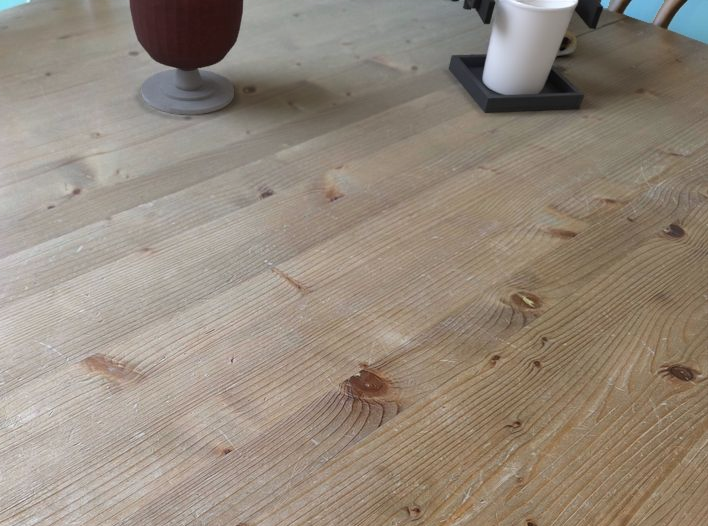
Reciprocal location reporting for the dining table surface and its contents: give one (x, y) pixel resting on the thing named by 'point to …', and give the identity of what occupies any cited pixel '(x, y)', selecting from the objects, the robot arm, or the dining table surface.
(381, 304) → the dining table surface
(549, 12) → the white cup
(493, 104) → the shallow tray
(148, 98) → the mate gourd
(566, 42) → the pastry
